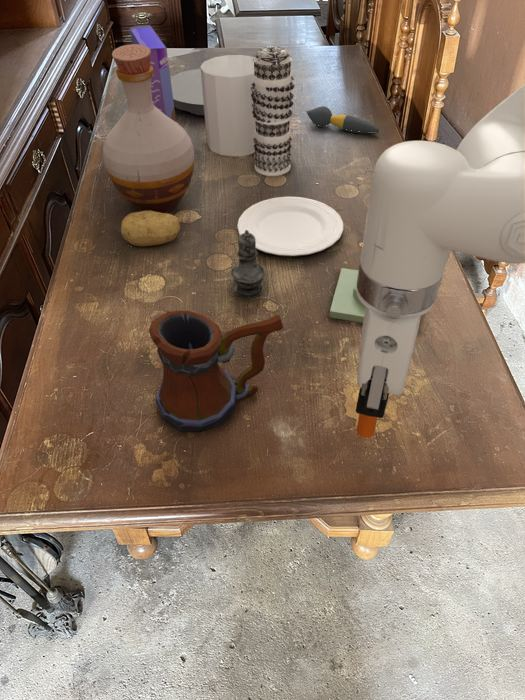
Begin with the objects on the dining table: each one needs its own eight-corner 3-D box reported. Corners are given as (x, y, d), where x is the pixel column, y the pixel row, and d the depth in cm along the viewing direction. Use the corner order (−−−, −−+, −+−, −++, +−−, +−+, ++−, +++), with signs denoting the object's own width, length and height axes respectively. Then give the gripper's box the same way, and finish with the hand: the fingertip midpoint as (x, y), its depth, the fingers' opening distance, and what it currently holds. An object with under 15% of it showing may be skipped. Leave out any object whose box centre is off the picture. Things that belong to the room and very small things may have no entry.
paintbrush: (380, 129, 139) (383, 110, 135) (377, 138, 136) (380, 118, 132) (306, 120, 144) (307, 101, 140) (301, 128, 141) (302, 108, 137)
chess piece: (229, 297, 93) (225, 239, 85) (235, 276, 97) (231, 218, 89) (263, 300, 93) (262, 241, 84) (267, 279, 97) (267, 221, 88)
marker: (376, 425, 68) (387, 366, 60) (373, 440, 67) (385, 381, 59) (357, 421, 69) (366, 362, 61) (355, 436, 67) (364, 377, 59)
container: (275, 137, 137) (275, 60, 124) (246, 161, 128) (243, 81, 115) (227, 126, 142) (222, 51, 129) (196, 148, 133) (187, 70, 120)
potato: (126, 234, 108) (120, 206, 103) (182, 231, 108) (178, 203, 104) (122, 253, 103) (116, 225, 98) (181, 250, 103) (177, 222, 99)
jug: (121, 181, 122) (88, 33, 101) (200, 177, 123) (184, 29, 102) (110, 230, 109) (70, 70, 87) (199, 225, 109) (181, 65, 88)
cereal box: (180, 156, 131) (166, 46, 113) (161, 159, 130) (143, 49, 112) (165, 127, 142) (150, 24, 125) (147, 130, 141) (129, 26, 124)
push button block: (420, 286, 95) (423, 272, 93) (415, 331, 87) (418, 318, 85) (340, 274, 98) (342, 260, 95) (328, 317, 90) (330, 303, 87)
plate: (334, 269, 98) (335, 261, 97) (225, 255, 102) (224, 246, 101) (349, 210, 113) (349, 201, 111) (252, 199, 116) (251, 191, 115)
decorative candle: (298, 162, 127) (302, 45, 109) (281, 180, 122) (283, 60, 104) (264, 154, 130) (262, 40, 112) (246, 171, 125) (241, 53, 107)
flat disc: (273, 115, 146) (273, 98, 143) (170, 127, 142) (168, 109, 139) (251, 78, 165) (251, 63, 162) (160, 88, 161) (157, 72, 158)
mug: (274, 361, 83) (274, 285, 72) (289, 421, 75) (292, 345, 64) (156, 377, 81) (138, 300, 70) (158, 440, 73) (138, 365, 62)
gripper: (435, 347, 44) (396, 468, 58) (442, 238, 55) (408, 361, 68) (344, 330, 46) (327, 452, 59) (369, 228, 57) (349, 350, 70)
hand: (371, 402), depth 64 cm, fingers closed on marker, 2 cm apart
